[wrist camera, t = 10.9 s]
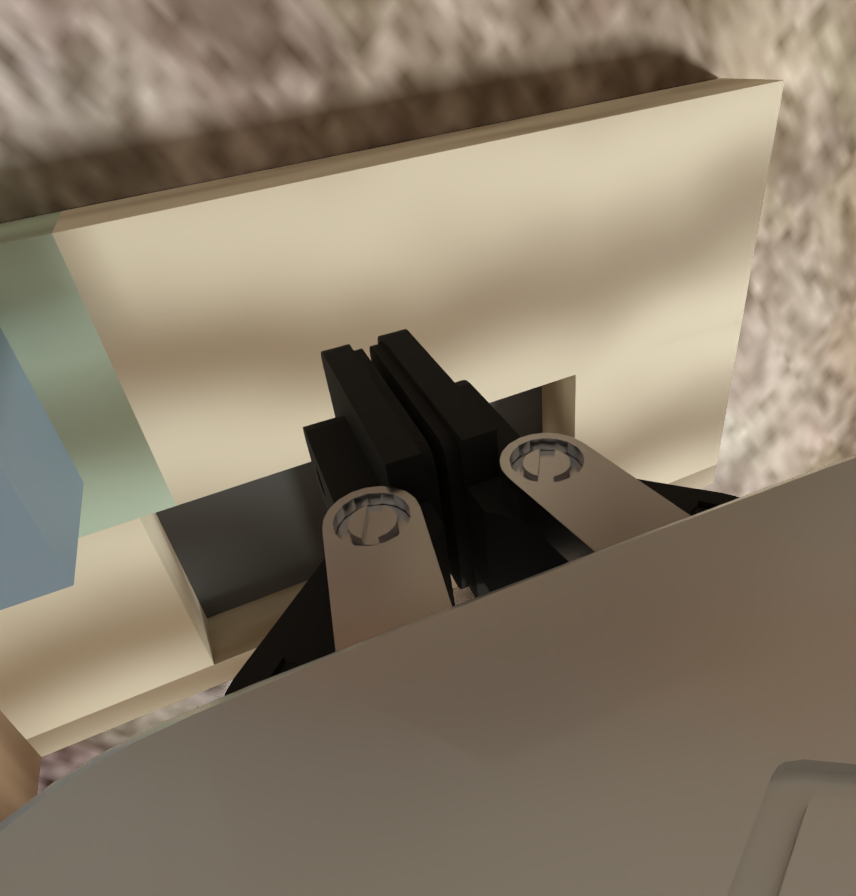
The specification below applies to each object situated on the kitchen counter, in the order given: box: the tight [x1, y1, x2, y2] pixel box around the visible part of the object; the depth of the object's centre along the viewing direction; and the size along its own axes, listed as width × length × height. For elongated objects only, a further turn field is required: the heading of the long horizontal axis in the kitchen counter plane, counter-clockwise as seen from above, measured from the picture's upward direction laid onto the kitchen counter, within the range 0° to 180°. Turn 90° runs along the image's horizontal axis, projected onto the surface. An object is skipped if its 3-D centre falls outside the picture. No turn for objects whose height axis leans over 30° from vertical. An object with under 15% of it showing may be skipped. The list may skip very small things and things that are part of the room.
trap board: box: [0, 78, 784, 821], centre depth 19 cm, size 15×28×5 cm, turn 97°
